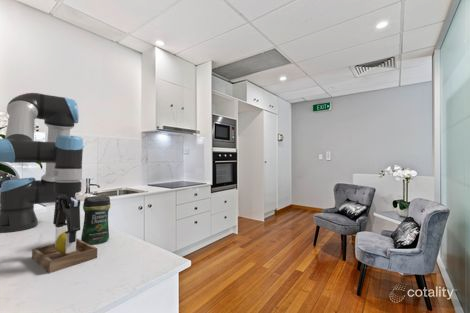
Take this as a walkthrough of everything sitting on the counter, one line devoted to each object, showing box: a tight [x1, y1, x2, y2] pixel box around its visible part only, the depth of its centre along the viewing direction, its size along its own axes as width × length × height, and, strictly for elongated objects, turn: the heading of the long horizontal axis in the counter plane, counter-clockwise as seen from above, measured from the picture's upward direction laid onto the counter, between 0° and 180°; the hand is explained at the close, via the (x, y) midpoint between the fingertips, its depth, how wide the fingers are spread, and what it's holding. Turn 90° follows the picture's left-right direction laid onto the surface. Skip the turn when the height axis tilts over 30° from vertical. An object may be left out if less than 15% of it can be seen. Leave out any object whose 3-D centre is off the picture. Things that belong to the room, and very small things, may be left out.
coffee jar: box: [80, 195, 111, 246], centre depth 91 cm, size 10×8×19 cm
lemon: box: [56, 232, 67, 255], centre depth 75 cm, size 6×6×8 cm
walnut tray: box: [31, 238, 98, 274], centre depth 75 cm, size 16×13×3 cm
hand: (65, 248), depth 75 cm, fingers open, 8 cm apart
